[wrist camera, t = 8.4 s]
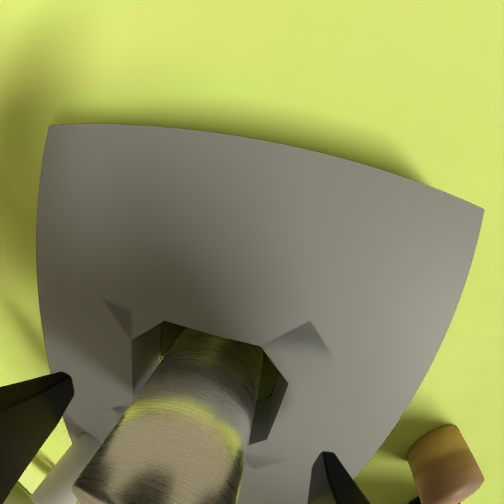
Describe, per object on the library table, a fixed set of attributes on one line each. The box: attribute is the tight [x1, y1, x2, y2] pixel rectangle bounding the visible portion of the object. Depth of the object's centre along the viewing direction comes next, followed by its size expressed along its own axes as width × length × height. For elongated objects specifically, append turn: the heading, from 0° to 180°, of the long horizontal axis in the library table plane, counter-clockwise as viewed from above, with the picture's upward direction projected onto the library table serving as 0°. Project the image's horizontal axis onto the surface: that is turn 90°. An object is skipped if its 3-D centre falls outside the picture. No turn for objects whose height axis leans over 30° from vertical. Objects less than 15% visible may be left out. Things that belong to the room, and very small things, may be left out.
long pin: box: [71, 327, 263, 504], centre depth 8 cm, size 4×4×9 cm
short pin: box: [407, 425, 484, 504], centre depth 10 cm, size 4×4×5 cm
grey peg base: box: [30, 124, 484, 504], centre depth 8 cm, size 18×16×9 cm
